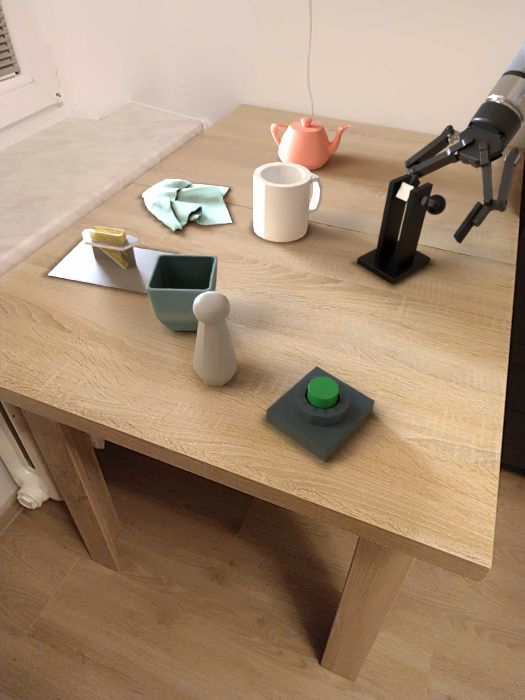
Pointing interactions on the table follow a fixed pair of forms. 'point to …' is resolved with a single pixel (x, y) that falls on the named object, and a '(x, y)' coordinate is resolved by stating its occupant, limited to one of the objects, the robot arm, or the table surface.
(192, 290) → the flower pot
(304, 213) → the mug
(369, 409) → the control block
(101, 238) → the platform
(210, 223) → the cloth
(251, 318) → the table surface
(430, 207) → the lever
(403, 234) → the switch bracket
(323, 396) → the button
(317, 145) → the teapot
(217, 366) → the salt shaker
